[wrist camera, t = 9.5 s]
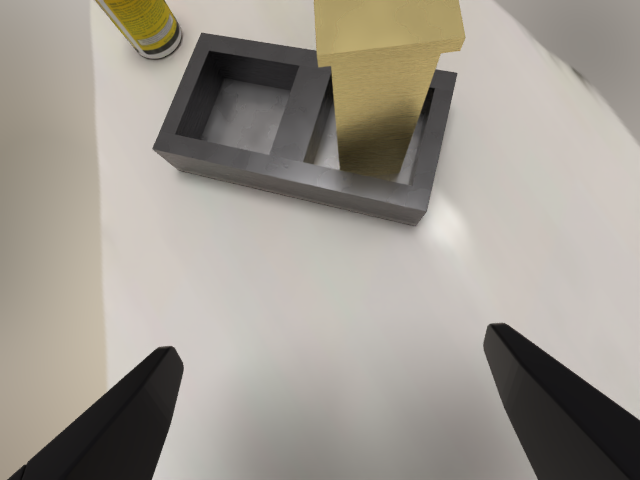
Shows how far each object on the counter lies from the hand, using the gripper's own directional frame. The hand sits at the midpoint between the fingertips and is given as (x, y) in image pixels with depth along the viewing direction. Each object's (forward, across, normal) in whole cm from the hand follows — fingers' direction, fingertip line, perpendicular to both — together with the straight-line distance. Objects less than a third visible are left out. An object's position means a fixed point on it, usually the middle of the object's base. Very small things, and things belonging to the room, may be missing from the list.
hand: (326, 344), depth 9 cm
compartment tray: (+20, +1, -1) cm, 20 cm away
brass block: (+19, -3, 0) cm, 19 cm away
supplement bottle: (+29, +15, -10) cm, 34 cm away
